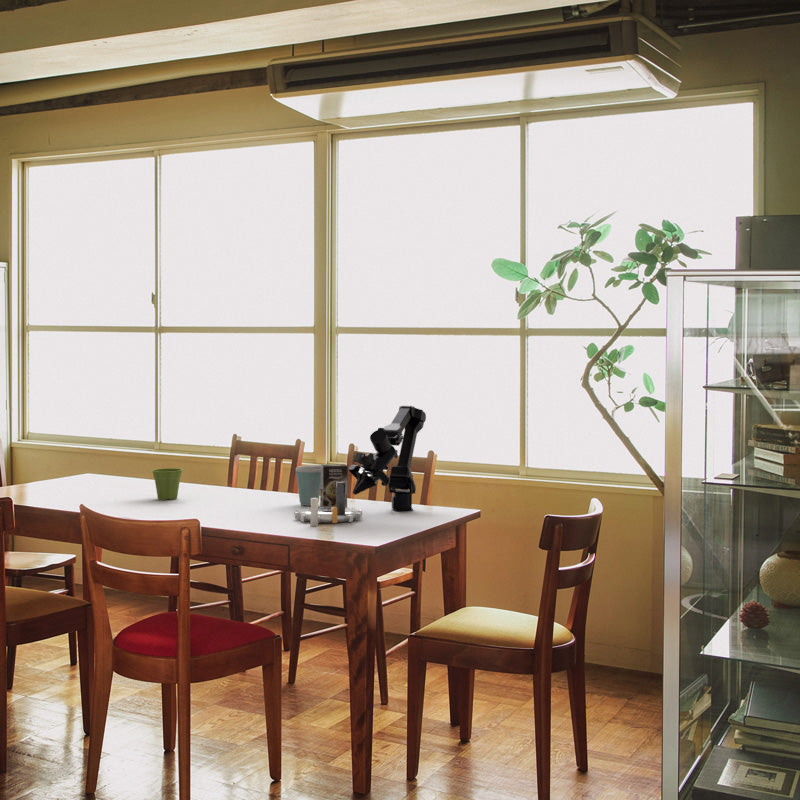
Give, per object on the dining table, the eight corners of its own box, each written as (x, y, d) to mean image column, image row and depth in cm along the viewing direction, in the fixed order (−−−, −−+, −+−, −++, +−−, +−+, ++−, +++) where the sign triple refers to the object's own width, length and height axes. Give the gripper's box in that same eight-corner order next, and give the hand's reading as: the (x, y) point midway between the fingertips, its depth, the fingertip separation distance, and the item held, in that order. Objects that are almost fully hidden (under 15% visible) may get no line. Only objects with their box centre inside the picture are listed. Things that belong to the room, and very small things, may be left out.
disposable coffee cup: (289, 505, 360) (289, 465, 359) (305, 501, 370) (305, 462, 369) (313, 508, 355) (313, 467, 354) (329, 504, 365) (329, 464, 364)
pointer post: (317, 524, 321) (317, 497, 321) (318, 526, 319) (318, 498, 318) (310, 525, 321) (310, 498, 320) (311, 526, 318) (311, 499, 318)
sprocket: (354, 510, 347) (354, 474, 347) (369, 521, 325) (369, 483, 324) (289, 512, 342) (290, 475, 341) (300, 524, 319) (300, 485, 318)
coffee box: (322, 510, 349) (323, 466, 348) (319, 508, 355) (320, 464, 355) (347, 510, 351) (348, 465, 351) (344, 507, 358) (344, 463, 357)
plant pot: (187, 496, 380) (187, 468, 379) (177, 501, 368) (177, 471, 368) (157, 496, 381) (157, 467, 381) (147, 500, 369) (146, 471, 369)
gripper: (352, 441, 339) (325, 475, 333) (382, 446, 324) (354, 481, 318) (371, 462, 344) (344, 496, 338) (401, 468, 329) (374, 503, 323)
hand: (353, 493), depth 329 cm, fingers closed
